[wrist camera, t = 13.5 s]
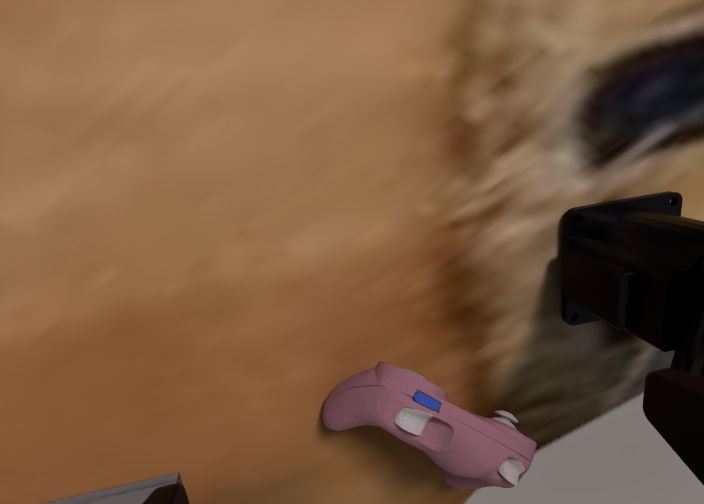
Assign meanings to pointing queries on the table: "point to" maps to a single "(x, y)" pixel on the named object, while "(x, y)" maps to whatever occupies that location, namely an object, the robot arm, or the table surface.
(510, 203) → the table surface
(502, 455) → the video game controller
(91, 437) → the table surface
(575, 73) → the table surface
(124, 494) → the trough tray
